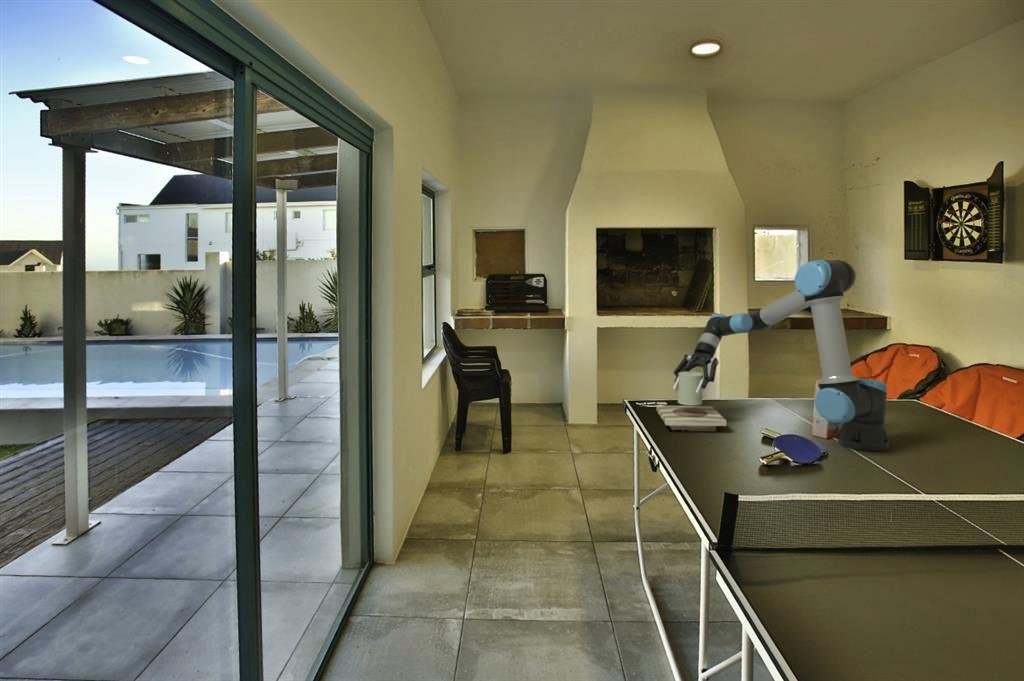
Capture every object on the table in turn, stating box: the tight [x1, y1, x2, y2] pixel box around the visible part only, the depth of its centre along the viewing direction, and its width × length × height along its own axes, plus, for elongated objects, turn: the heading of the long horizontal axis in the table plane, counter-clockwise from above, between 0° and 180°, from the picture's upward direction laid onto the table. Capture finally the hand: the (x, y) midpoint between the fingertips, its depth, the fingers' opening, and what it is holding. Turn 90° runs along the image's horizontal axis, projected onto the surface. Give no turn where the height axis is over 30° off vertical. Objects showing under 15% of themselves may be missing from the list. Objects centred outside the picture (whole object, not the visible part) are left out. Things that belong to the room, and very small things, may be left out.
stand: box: [656, 405, 727, 432], centre depth 225 cm, size 22×22×5 cm
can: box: [677, 371, 704, 406], centre depth 223 cm, size 9×9×12 cm
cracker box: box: [811, 378, 844, 440], centre depth 210 cm, size 14×6×21 cm, turn 126°
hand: (686, 392), depth 221 cm, fingers closed on can, 9 cm apart
